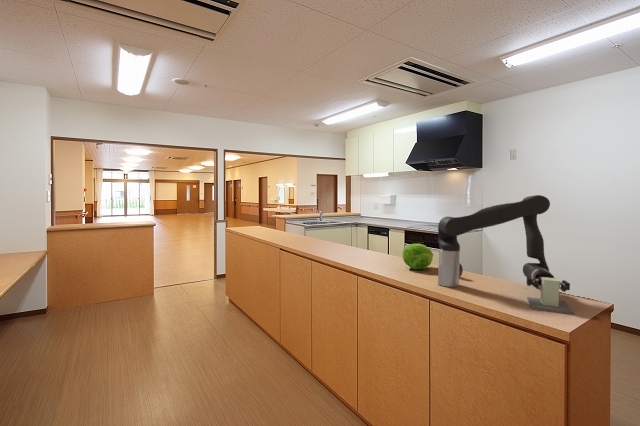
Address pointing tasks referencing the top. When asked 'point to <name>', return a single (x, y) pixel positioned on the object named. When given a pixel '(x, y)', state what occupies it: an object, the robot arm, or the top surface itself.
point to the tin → (460, 269)
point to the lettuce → (417, 256)
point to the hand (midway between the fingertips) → (550, 287)
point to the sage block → (549, 291)
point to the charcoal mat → (537, 305)
